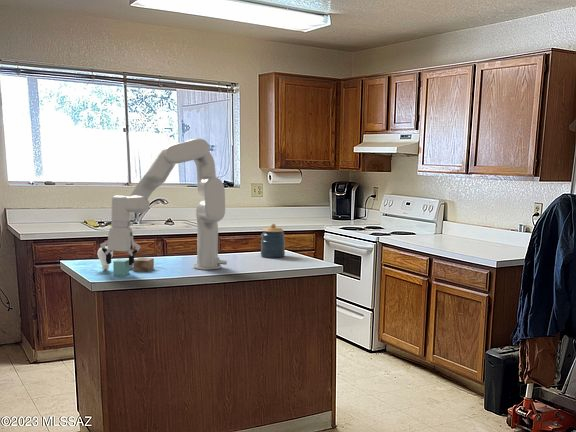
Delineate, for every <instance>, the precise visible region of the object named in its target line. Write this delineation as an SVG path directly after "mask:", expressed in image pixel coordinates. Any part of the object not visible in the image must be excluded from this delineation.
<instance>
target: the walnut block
mask: <svg viewBox="0 0 576 432" xmlns="http://www.w3.org/2000/svg"><path fill="white" fill-rule="evenodd" d="M154 260H155V259H154V257H137V258H134V263H133V269H132V270H133V272H147V273H148V272H151V271H153V270H154V268H155V261H154Z"/></svg>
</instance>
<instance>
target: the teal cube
mask: <svg viewBox="0 0 576 432" xmlns="http://www.w3.org/2000/svg"><path fill="white" fill-rule="evenodd" d="M112 264H113V265H112V268H113V271H112V272H113V273H112V274H113V276H127V275H129V274H130V269H129V260H124V259H120V258H119V259H115V260H113V263H112Z"/></svg>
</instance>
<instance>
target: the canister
mask: <svg viewBox="0 0 576 432" xmlns="http://www.w3.org/2000/svg"><path fill="white" fill-rule="evenodd" d="M262 231H263V232H262V233H261V234H260V236H261V240H260V256H261V257H262V258H267V259H280V258H281V259H282V258H284V257H285V255H286V254H285V253H286V252H285V249H286V248H285V247H286V245H285V244H286V239H285V236H286V234H285V233H284V231H285V230H284V229H282V227H277V226H276V224H275V223H271V224H270V227H269V226H268V227H265V228H263V229H262Z"/></svg>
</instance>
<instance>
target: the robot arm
mask: <svg viewBox="0 0 576 432" xmlns="http://www.w3.org/2000/svg"><path fill="white" fill-rule="evenodd" d="M191 161H193V162H194V163H195V167H196V178H197V179H196V180H197V181H196V183H197V185H196V187H197V188H196V189H197V191H198V194H199V195H200V196H202V197H204V200H201V201H199V203H198V204H197V206H196V209H195V216H196V223H197V224H196V226H197V228H196V229H197V230H196V231H197V236H196V237H197V238H196V239H197V240H196V241H197V243H196V246H197V247H196V248H197V250H196V251H197V252H196V255H197V257H196V258H197V260H196V263H195V264H194V265H193V269H196V270H202V271H203V270H204V271H207V270H217V269H221V268H222V265H225V266H226V265H228V261H227V260H225V259H220V256H219V224H218V223H219V222H220V221H221V220H223V219H224V217H225V214H226V190H225V185H224V183H223V181H222V180H221V179H220V178H219V177H217V173H216V162H215V159H214V157H213V155H212V153H211V152H210V145H209V143H208V142H207V140H205V139H203V138H191V139H187V140H186V141H183V142H179V143H171V144H167V145H164V146H163V147H162V149H160V151H159V153H158V155H157V156H156V157H155V159H154V160H153V162H152V164H151V165H150V168H148V170H147V172H146V173H145V174H144V175H143V177H142V178H141V179H140V181H139V182H138V183H137V184H136V185H135V187H134V189H133V190H132V192H131V194H130V195H129V196H127V195H113V197H111V222H110V223H111V225H110V227H109V231H108V236H107V240H105V241H104V242H101V243H100V244H99V246H100V248H102V251H103V252H104V253H105V254H106V262H107V264H109V265H110V264H112V258H111V254H110V253H111V252H112V251H113V252H127V253H128V254H129V256H128V259H129V265H132V264H133V263H134V260H135V256H136V254H137V253H138V252H139V251H140V249H141V245H140V244H138V243H137V242H135V241H134V232H133V228H132V227H131V226H133V225H134V222H132V221H131V213H134V214H144V213H146V212H147V211H148V210H149V209H150V205H151V203H150V200H149V197H151V195H152V194H153V192H154V191H155V190H156V189H158V188H159V187H160V186H161V185H163V184H164V183H165V182H166V180H167V179H168V177H169V175H170V174H171V172H172V171H173V169H174V167H175V165H177V164H182V163H187V162H191ZM105 246H107V247H108V250H107V249H106V248H105ZM134 247H135V249H134ZM133 249H134V250H133Z"/></svg>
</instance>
